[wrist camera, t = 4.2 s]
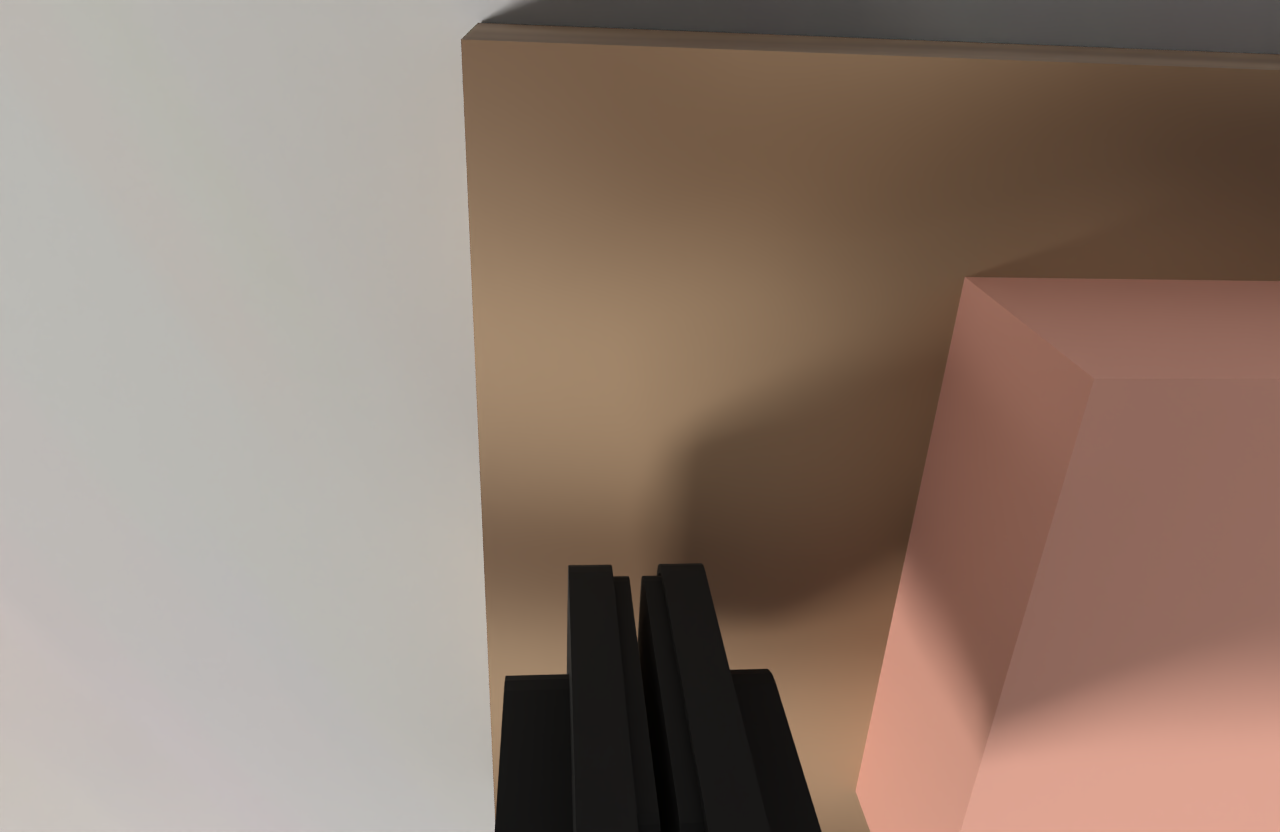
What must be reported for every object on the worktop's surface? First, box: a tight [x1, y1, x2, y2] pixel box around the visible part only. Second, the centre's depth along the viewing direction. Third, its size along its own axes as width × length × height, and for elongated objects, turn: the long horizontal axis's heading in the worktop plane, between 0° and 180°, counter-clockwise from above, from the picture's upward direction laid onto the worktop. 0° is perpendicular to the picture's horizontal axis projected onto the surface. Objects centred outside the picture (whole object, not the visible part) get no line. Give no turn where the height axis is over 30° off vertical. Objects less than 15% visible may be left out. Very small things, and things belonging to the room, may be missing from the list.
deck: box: [461, 23, 1280, 832], centre depth 15 cm, size 14×18×2 cm
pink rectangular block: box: [856, 277, 1280, 832], centre depth 12 cm, size 9×6×3 cm, turn 178°
